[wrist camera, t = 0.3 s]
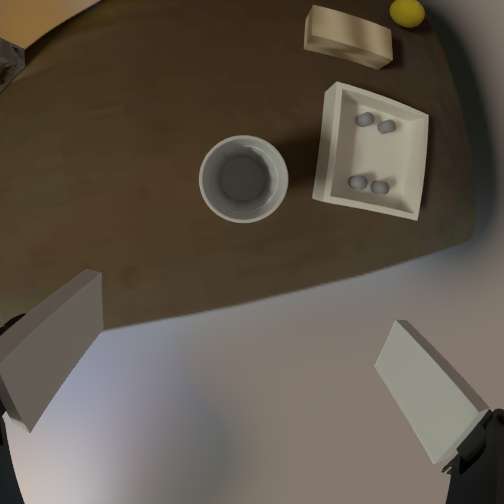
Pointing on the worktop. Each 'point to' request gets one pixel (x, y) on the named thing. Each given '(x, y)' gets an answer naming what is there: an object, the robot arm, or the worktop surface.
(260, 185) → the cup
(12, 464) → the robot arm
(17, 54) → the coffee box
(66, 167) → the worktop surface
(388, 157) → the white open box
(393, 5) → the lemon
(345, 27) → the beige rectangular block
